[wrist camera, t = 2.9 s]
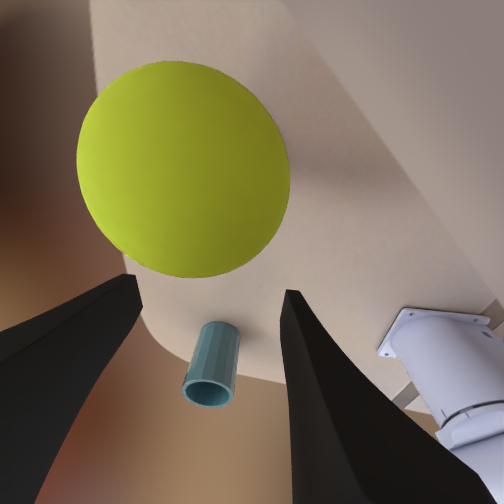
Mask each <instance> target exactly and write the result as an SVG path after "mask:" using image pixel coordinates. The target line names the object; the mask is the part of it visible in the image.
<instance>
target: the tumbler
mask: <svg viewBox="0 0 504 504" xmlns="http://www.w3.org/2000/svg"><path fill="white" fill-rule="evenodd" d="M239 346H240V334H239V332H238V331H237V329H236V328H234V327H233V326H231V325H229V324H227V323H222V322H213V323H209V324H207V325H205V326H204V327H203V328H202V329H201V332H200V335H199V337H198V340H197V343H196V346H195V349H194V352H193V355H192V358H191V361H190V364H189V367H188V370H187V374H186V377H185V380H184V383H183V386H182V395H183V396H184V397H185V398H186V399H187V400H188V401H190V402H191V403H193V404H195V405H199V406H202V407H209V408H217V407H223V406H225V405H228V404H229V403H230V402H231V401H232V400H233V396H234V387H235V379H236V371H237V362H238V354H239Z"/></svg>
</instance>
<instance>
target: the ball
mask: <svg viewBox="0 0 504 504" xmlns="http://www.w3.org/2000/svg"><path fill="white" fill-rule="evenodd" d="M77 172H78V179H79V183H80V187H81V191H82V194H83V197H84V200H85V202H86V205H87V208H88V210H89V211H90V213H91V215H92V217H93V219H94V221H95V222H96V224H97V225H98V227H99V228H100V230H101V231H102V232H103V233H104V235H105V236H106V237H107V238H108V239H109V240H110V241H111V242H112V243H113V245H114V246H116V247H117V248H118V249H119V250H120V251H121V252H122V253H124V254H125V255H127V256H128V257H129V258H131V259H132V260H134V261H136V262H137V263H139V264H141V265H143V266H145V267H147V268H149V269H151V270H154V271H157V272H160V273H163V274H166V275H170V276H175V277H181V278H205V277H211V276H217V275H221V274H224V273H227V272H230V271H232V270H234V269H236V268H238V267H240V266H242V265H244V264H245V263H247V262H249V261H250V260H252V259H253V258H254V257H255V256H256V255H258V254H259V253H260V252H261V251H262V250H263V249H264V247H265V246H266V245H267V244H268V243H269V242H270V241H271V239H272V238H273V236H274V235H275V233H276V232H277V230H278V228H279V226H280V224H281V222H282V219H283V216H284V214H285V211H286V208H287V203H288V199H289V192H290V168H289V162H288V156H287V152H286V149H285V145H284V142H283V139H282V137H281V135H280V132H279V130H278V128H277V126H276V124H275V122H274V121H273V119H272V117H271V116H270V114H269V113H268V111H267V110H266V109H265V108H264V106H263V105H262V104H261V102H260V101H259V100H258V99H257V98H256V97H255V96H254V95H253V94H252V93H251V92H250V91H249V90H248V89H247V88H245V87H244V86H243V85H241V84H240V83H239V82H237V81H236V80H235V79H233V78H231V77H230V76H228V75H226V74H224V73H222V72H220V71H218V70H216V69H213V68H210V67H207V66H204V65H200V64H195V63H189V62H183V61H162V62H156V63H151V64H147V65H144V66H142V67H139V68H136V69H134V70H131V71H128V72H127V73H125V74H123V75H122V76H120V77H119V78H117V79H115V80H114V81H113V82H112V83H111V84H110V85H109V86H108V87H106V88H105V89H104V90H103V91H102V93H101V94H100V95H99V96H98V98H97V99H96V100H95V102H94V103H93V104H92V106H91V107H90V109H89V112H88V113H87V115H86V117H85V119H84V122H83V125H82V129H81V132H80V136H79V141H78V148H77Z"/></svg>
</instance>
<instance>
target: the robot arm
mask: <svg viewBox="0 0 504 504" xmlns="http://www.w3.org/2000/svg"><path fill="white" fill-rule="evenodd" d="M142 308H143V305H142V301H141V296H140V292H139V288H138V284H137V280H136V275H131V274H121V275H119V276H117V277H115V278H112V279H111V280H108V281H106V282H104V283H103V284H101V285H99V286H97V287H95V288H93V289H91V290H89V291H87V292H85V293H83V294H81V295H79V296H77V297H75V298H73V299H71V300H70V301H68V302H65V303H63V304H61V305H59V306H57V307H55V308H53V309H51V310H49V311H47V312H45V313H43V314H41V315H38V316H36V317H34V318H32V319H29V320H27V321H25V322H23V323H20V324H18V325H16V326H13V327H11V328H8V329H6V330H3V331H1V332H0V504H34V503H35V500H36V498H37V496H38V494H39V491H40V489H41V487H42V485H43V483H44V481H45V479H46V476H47V474H48V472H49V470H50V468H51V466H52V463H53V462H54V460H55V458H56V456H57V454H58V451H59V450H60V448H61V445H62V444H63V442H64V440H65V438H66V436H67V434H68V432H69V430H70V428H71V426H72V424H73V422H74V420H75V419H76V417H77V415H78V413H79V411H80V409H81V407H82V406H83V404H84V402H85V400H86V398H87V397H88V395H89V393H90V391H91V390H92V388H93V386H94V384H95V382H96V381H97V379H98V378H99V376H100V375H101V373H102V371H103V370H104V369H105V367H106V366H107V364H108V363H109V361H110V360H111V358H112V357H113V356H114V354H115V353H116V351H117V350H118V348H119V347H120V345H121V344H122V342H123V341H124V339H125V338H126V337H127V335H128V334H129V332H130V331H131V329H132V327H133V326H134V324H135V322H136V320H137V318H138V316H139V314H140V312H141V310H142ZM489 322H490V318H488V317H487V316H482V315H472V314H462V313H452V312H442V311H431V310H421V309H411V308H404V309H402V310H401V312H400V314H399V315H398V317H397V319H396V320H395V322H394V324H393V325H392V327H391V329H390V331H389V332H388V334H387V336H386V337H385V339H384V341H383V342H382V344H381V346H380V347H379V349H378V351H377V353H378V355H379V356H382V357H392V358H398V359H399V360H400V362H401V364H402V365H403V367H404V369H405V370H406V372H407V374H408V375H409V377H410V379H411V380H412V382H413V384H414V385H415V387H416V389H417V390H418V392H419V394H420V395H421V397H422V399H423V400H424V402H425V404H426V405H427V407H428V409H429V410H430V412H431V414H432V415H433V417H434V418H435V420H436V422H437V423H438V425H439V427H440V428H441V430H440V431H437V432H435V434H436V436H437V438H438V440H439V441H440V443H441V444H440V443H439V442H438V441H437V440H435V439H434V438H433V437H431V436H430V435H429V434H428V433H427V432H426V431H424V430H423V429H422V428H421V427H420V426H419V425H417V424H416V423H415V422H414V421H413V420H412V419H411V418H409V417H408V416H407V415H406V414H405V413H404V412H403V411H401V410H400V409H399V408H398V407H397V406H396V405H395V404H394V403H393V402H392V401H390V400H389V399H388V398H387V397H386V396H385V395H384V394H383V393H382V392H381V391H380V390H379V389H378V388H377V387H376V386H375V385H374V384H373V383H372V382H371V381H370V380H369V379H368V378H367V377H366V376H365V375H364V374H363V373H362V372H361V371H360V370H359V369H358V368H357V367H356V366H355V365H354V364H353V362H352V361H351V360H350V359H349V358H348V357H347V356H346V355H345V353H344V352H343V351H342V350H341V349H340V347H339V346H338V345H337V344H336V343H335V341H334V340H333V339H332V338H331V336H330V335H329V334H328V332H327V331H326V330H325V328H324V327H323V325H322V324H321V323H320V321H319V320H318V319H317V317H316V316H315V314H314V313H313V311H312V310H311V308H310V307H309V305H308V304H307V302H306V300H305V299H304V297H303V296H302V294H301V292H300V291H298V290H287V289H286V292H285V297H284V302H283V307H282V312H281V317H280V341H281V349H282V356H283V363H284V371H285V378H286V385H287V392H288V402H289V418H290V419H289V420H290V439H291V464H292V492H293V493H292V494H293V504H504V340H502V339H501V338H500V337H499V336H498V335H497V334H495V333H494V332H493V331H492V330H491V329H490V328H488V327H487V326H486V325H487V324H488V323H489Z"/></svg>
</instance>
